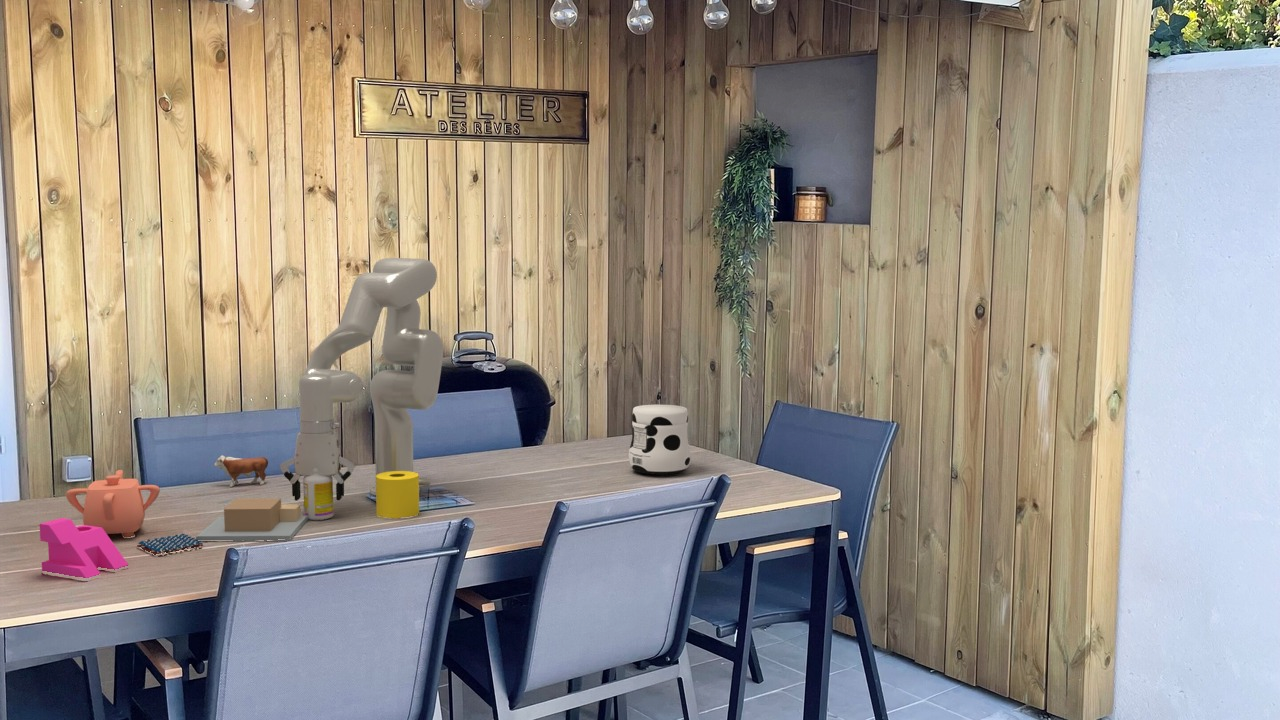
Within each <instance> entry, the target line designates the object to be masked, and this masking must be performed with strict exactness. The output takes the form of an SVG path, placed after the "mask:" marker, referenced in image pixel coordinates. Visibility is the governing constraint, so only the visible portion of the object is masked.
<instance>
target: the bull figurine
mask: <svg viewBox="0 0 1280 720" xmlns="http://www.w3.org/2000/svg"><path fill="white" fill-rule="evenodd" d="M213 465H214V467H218V468H220V469H221V470H223V472H224V473H225V474H226V475H227V476H228V477H229V478H231V482H230V485H228V488H233V487H235V486H238V484H239V479H238V477H239V476H246V477H247V478H250V477H251V475H252V474H254V473H255V476H254V479H253V480H252V481H251V482H250V484H252V483H253V484H255V483H257V482H258V480H259V478H260V479H261V481H260V483H259V485H260V486H263V485H264V484H265V483H266V476H267V474H266V472H265V471H266V469H267V468H268V466H269V461H268V458H266V457H265V456H264V457H263V456H260V457H259V456H258V457H250V458H249V457H248V458H240V457H239V458H238V457H233V456H225V455H220V457H218V458H217V459H216V461H215V463H214V464H213Z"/></svg>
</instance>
